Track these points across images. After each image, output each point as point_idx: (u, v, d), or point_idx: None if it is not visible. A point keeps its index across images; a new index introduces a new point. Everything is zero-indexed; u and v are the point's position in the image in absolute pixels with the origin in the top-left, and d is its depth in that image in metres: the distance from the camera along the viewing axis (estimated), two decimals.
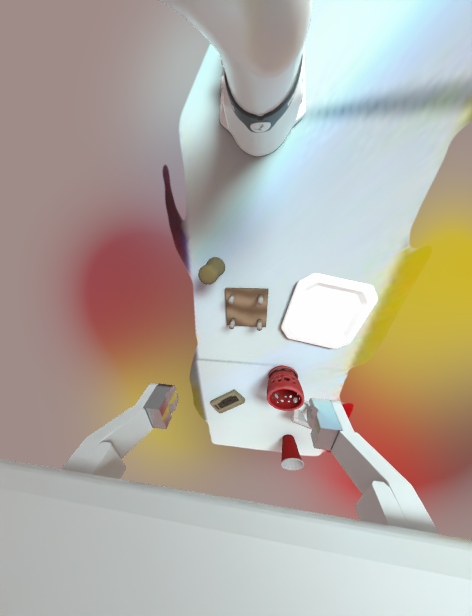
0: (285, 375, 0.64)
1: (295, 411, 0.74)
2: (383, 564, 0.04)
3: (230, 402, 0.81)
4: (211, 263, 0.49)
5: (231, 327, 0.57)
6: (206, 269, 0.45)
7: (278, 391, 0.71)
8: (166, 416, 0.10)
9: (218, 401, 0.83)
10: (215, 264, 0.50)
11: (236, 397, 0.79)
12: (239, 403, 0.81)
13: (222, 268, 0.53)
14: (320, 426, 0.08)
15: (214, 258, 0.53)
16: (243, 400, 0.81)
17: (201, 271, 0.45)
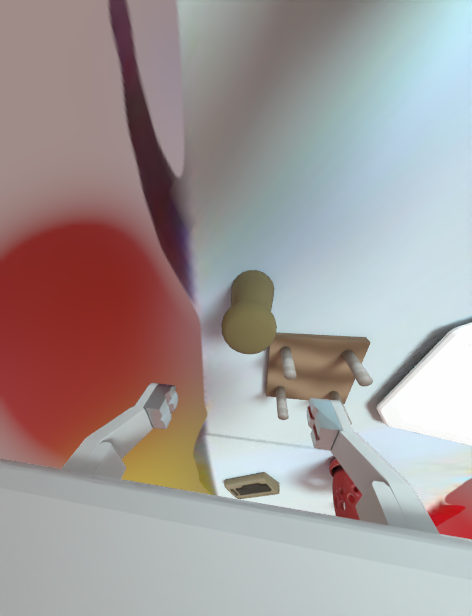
0: None
1: None
2: (383, 564, 0.04)
3: (257, 490, 0.51)
4: (252, 290, 0.19)
5: (282, 417, 0.27)
6: (250, 320, 0.14)
7: None
8: (166, 416, 0.10)
9: (237, 485, 0.53)
10: (262, 292, 0.19)
11: (267, 486, 0.49)
12: (271, 493, 0.51)
13: None
14: (320, 426, 0.08)
15: (252, 273, 0.22)
16: (277, 488, 0.51)
17: (232, 323, 0.15)
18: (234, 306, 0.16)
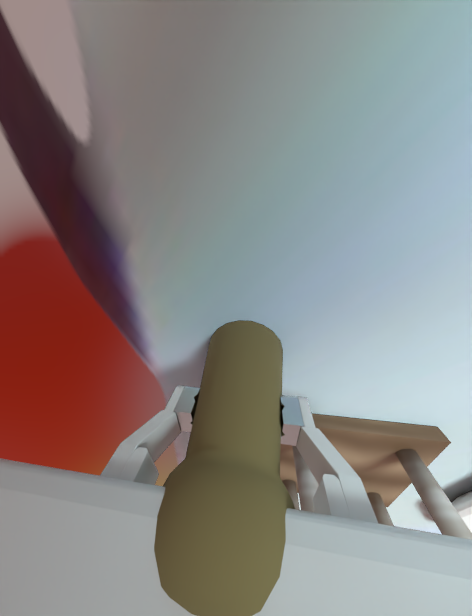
0: None
1: None
2: (383, 564, 0.04)
3: None
4: (239, 393, 0.08)
5: None
6: None
7: None
8: None
9: None
10: (262, 395, 0.08)
11: None
12: None
13: (281, 378, 0.12)
14: (283, 422, 0.08)
15: (244, 330, 0.12)
16: None
17: None
18: (176, 503, 0.05)
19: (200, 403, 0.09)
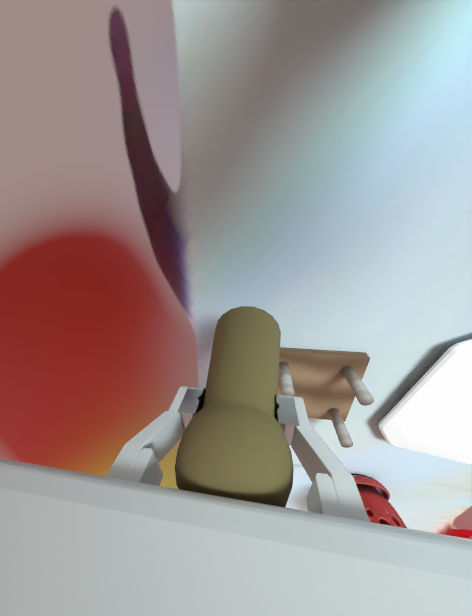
0: (379, 513, 0.32)
1: None
2: (383, 564, 0.04)
3: None
4: (244, 361, 0.10)
5: None
6: (233, 489, 0.06)
7: None
8: None
9: None
10: (262, 363, 0.10)
11: None
12: None
13: None
14: (278, 421, 0.08)
15: (247, 314, 0.14)
16: None
17: (192, 485, 0.06)
18: (201, 428, 0.07)
19: (212, 371, 0.11)
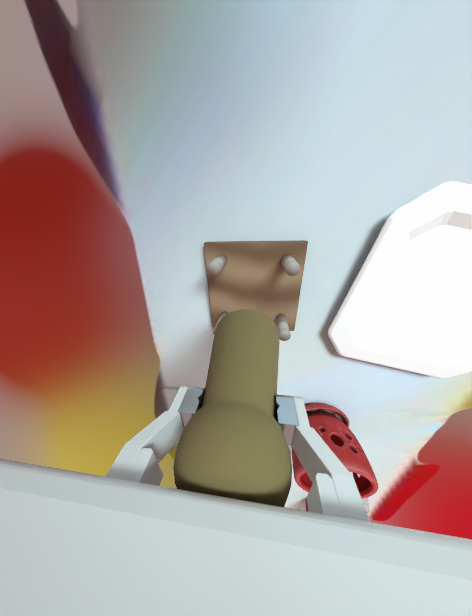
0: (331, 429, 0.31)
1: None
2: (383, 564, 0.04)
3: None
4: (243, 361, 0.10)
5: None
6: (232, 486, 0.06)
7: None
8: None
9: None
10: (261, 364, 0.10)
11: None
12: None
13: None
14: (278, 421, 0.08)
15: (246, 316, 0.14)
16: None
17: (191, 482, 0.06)
18: (200, 426, 0.07)
19: (211, 371, 0.11)
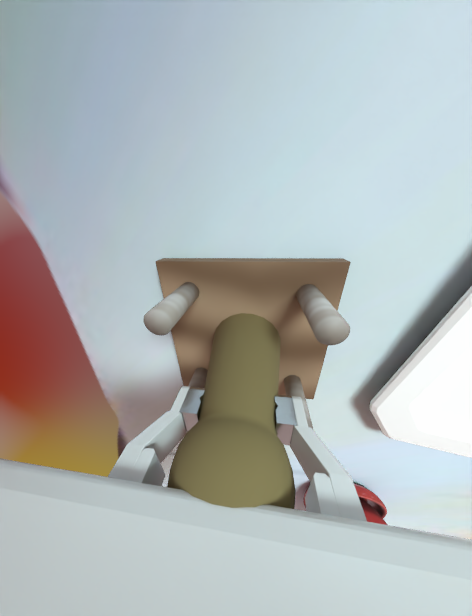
0: None
1: None
2: (383, 564, 0.04)
3: None
4: (242, 371, 0.10)
5: None
6: None
7: None
8: None
9: None
10: (262, 373, 0.10)
11: None
12: None
13: (279, 364, 0.13)
14: (276, 421, 0.08)
15: (246, 321, 0.13)
16: None
17: None
18: (195, 445, 0.07)
19: (209, 381, 0.10)
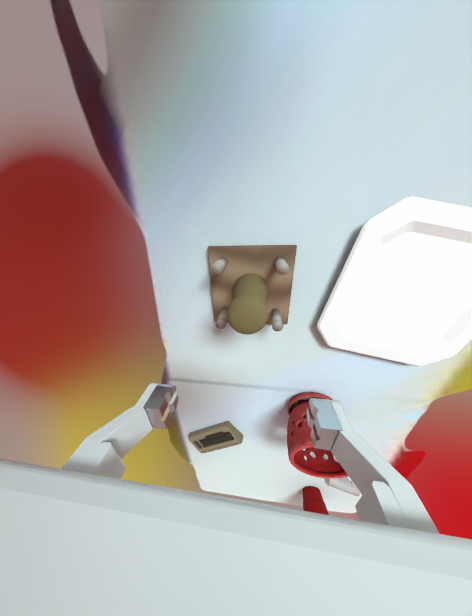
0: None
1: None
2: (383, 564, 0.04)
3: (220, 440, 0.51)
4: (250, 287, 0.24)
5: (220, 325, 0.28)
6: (248, 307, 0.20)
7: None
8: (166, 416, 0.10)
9: (201, 436, 0.52)
10: (257, 289, 0.25)
11: (230, 434, 0.49)
12: (234, 443, 0.51)
13: (266, 295, 0.28)
14: (320, 426, 0.08)
15: (250, 275, 0.28)
16: (241, 438, 0.51)
17: (235, 310, 0.20)
18: (236, 298, 0.21)
19: (236, 293, 0.25)
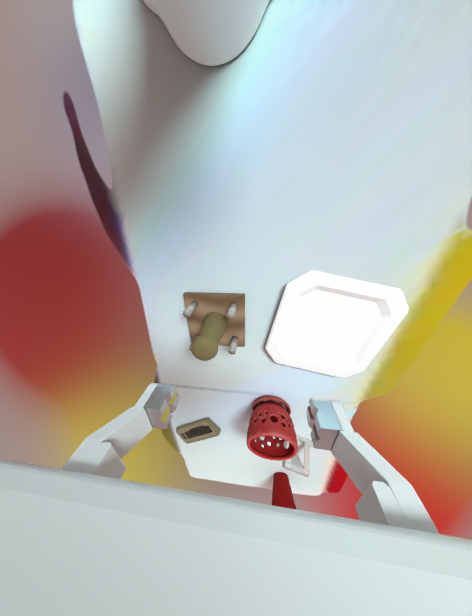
0: (272, 412, 0.46)
1: None
2: (383, 564, 0.04)
3: (201, 433, 0.63)
4: (209, 327, 0.36)
5: None
6: (202, 345, 0.31)
7: None
8: (166, 416, 0.10)
9: (186, 429, 0.64)
10: (215, 328, 0.36)
11: (209, 428, 0.61)
12: (212, 435, 0.62)
13: (225, 328, 0.39)
14: (320, 426, 0.08)
15: (214, 314, 0.39)
16: (218, 431, 0.63)
17: (195, 346, 0.32)
18: (197, 337, 0.33)
19: (200, 330, 0.36)
